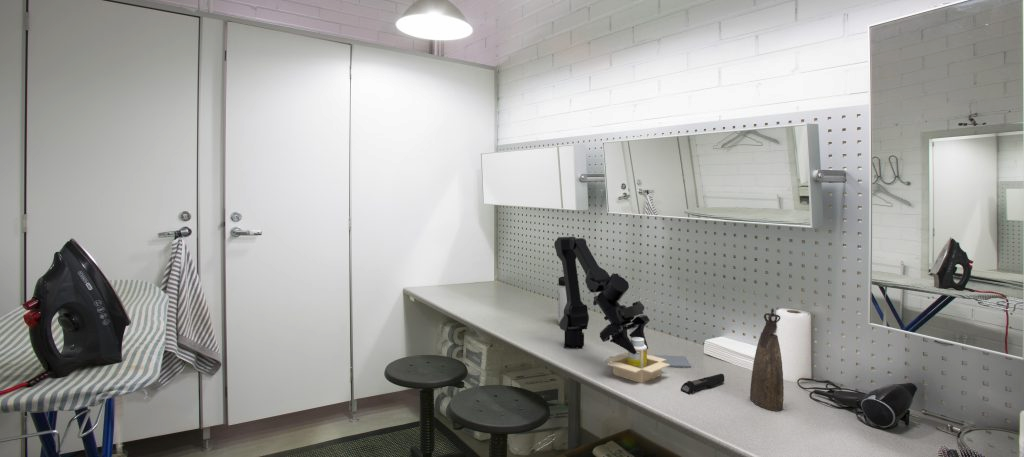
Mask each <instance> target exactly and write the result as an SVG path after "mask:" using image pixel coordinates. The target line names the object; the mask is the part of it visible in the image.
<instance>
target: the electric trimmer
mask: <svg viewBox="0 0 1024 457" xmlns="http://www.w3.org/2000/svg"><path fill="white" fill-rule="evenodd" d="M722 383H725V375H724V374H723V373H718V374H714V375H711V376H706V377H702V378H698V379H695V380H688V381H686V382H684V383H683V384H682V385H681V387H680V392H682V393H684V394H686V395H693V394H694V392H698V391H700V390H701V391H702V390H704V389H712V388H714V387H716V386H719V385H720V384H722Z"/></svg>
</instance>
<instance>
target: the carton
mask: <svg viewBox="0 0 1024 457" xmlns="http://www.w3.org/2000/svg"><path fill="white" fill-rule="evenodd" d="M606 361H608V362H609V363H608V364H607V365H608V366H610V367H613V375H614V376H617V377H621V378H625V379H628V380H631V381H634V382H637V383H640V384H643V383H646V382H648V381H650V380H653V379H654V378H657V377H659V376H661V375H662V370H663V369H665V368H669V367H668V366H670V364H667V363H663V362H665V361H666V359H663V358H659V357H655V356H654V355H650V354H647V367H645V368H642V369H641V368H637V367H634V366H630V365H628V352H625V351H624V352H622V353H619V354H617V355H614V356H610V357H609V358H606Z"/></svg>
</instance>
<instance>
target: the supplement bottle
mask: <svg viewBox="0 0 1024 457" xmlns="http://www.w3.org/2000/svg"><path fill="white" fill-rule="evenodd" d="M630 341H631V343H632V345H633V346H634V348H635V350H636V352H637V353H636V354H632V353H631V352H629V351H627V353H628V365H630V366H634V367H637V368H641V369H642V368H645V367H647V355H648V349H647V346H648V345H647V346H646V345H645V344H644V338H641V337H632V338H631V337H630Z"/></svg>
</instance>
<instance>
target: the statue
mask: <svg viewBox="0 0 1024 457" xmlns="http://www.w3.org/2000/svg"><path fill="white" fill-rule="evenodd" d="M774 312H775V310H774V308H771V309H770V312H767V313H764V315H763V318H764V321H765V325H764V326H763V329H762V331H761V333H760V335H759V338H758V341H757V346H756V350H755V354H754V359H753V365H752V372H751V377H750V378H751V380H750V387H749V388H750V389H749V390H750V391H749V398H750V400H751V401H752V402H753V403H754V405H756V406H759V407H760V408H763V409H766V410H771V411H774V412H775V411H777V412H780V411H781V410H783V407H784V393H785V392H784V391H785V390H784V389H785V388H784V371H783V359H782V354H781V353H782V352H781V347H780V346H781V345H780V342H779V337H778V335H777V334H775V333H776V332H777V329H778V324H777V323H779V321H780V320H781V315H778V314H776V313H774ZM767 316H768V318H767ZM772 317H774V320H773V319H772Z"/></svg>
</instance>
